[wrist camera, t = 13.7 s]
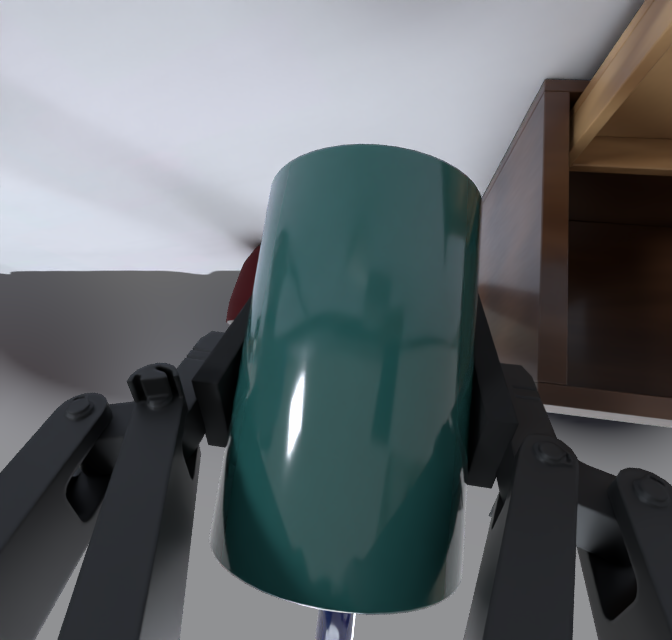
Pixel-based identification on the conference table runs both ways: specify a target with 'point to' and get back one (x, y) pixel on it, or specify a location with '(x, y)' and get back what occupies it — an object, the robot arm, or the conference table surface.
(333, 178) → the pen pot
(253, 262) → the mug
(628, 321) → the open wooden box
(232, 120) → the conference table surface
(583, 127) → the drawer
